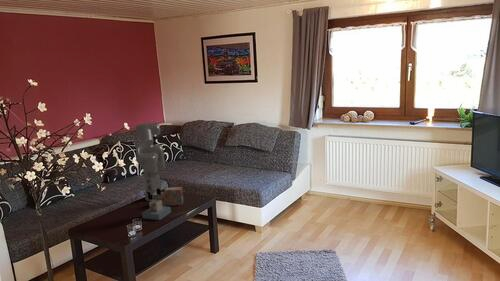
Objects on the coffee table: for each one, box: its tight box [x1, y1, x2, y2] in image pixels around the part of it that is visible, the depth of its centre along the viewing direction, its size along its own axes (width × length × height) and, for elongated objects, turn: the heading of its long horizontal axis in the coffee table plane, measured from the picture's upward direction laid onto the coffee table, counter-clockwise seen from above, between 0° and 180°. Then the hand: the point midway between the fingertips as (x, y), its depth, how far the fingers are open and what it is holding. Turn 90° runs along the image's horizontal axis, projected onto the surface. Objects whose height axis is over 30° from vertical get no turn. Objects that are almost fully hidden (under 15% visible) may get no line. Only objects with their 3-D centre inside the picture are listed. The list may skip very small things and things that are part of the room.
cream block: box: [148, 200, 163, 212], centre depth 262 cm, size 6×6×6 cm
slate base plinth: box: [141, 206, 172, 221], centre depth 263 cm, size 14×14×4 cm
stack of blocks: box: [153, 186, 184, 207], centre depth 283 cm, size 21×6×12 cm, turn 90°
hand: (154, 197), depth 261 cm, fingers open, 9 cm apart
